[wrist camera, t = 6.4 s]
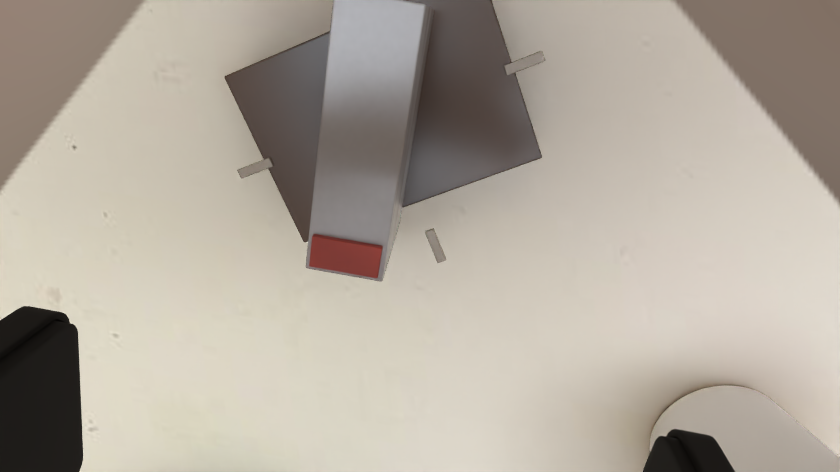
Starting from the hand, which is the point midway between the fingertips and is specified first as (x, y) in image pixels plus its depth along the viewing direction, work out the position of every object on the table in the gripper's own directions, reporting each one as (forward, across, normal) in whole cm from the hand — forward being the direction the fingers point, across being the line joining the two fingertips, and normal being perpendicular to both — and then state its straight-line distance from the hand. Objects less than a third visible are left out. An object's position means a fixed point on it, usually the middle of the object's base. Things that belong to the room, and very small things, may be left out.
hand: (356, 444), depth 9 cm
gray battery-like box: (+14, +2, -3) cm, 14 cm away
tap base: (+17, +2, -3) cm, 17 cm away
